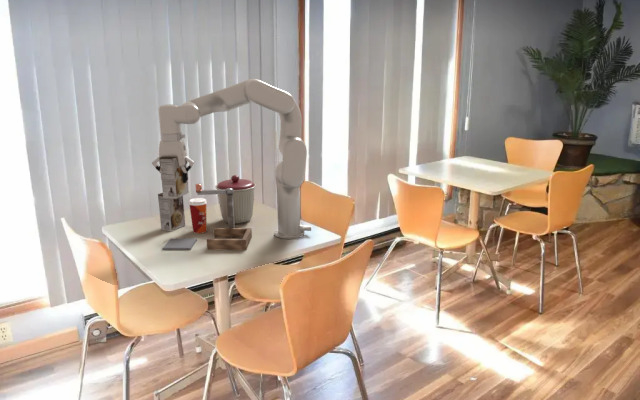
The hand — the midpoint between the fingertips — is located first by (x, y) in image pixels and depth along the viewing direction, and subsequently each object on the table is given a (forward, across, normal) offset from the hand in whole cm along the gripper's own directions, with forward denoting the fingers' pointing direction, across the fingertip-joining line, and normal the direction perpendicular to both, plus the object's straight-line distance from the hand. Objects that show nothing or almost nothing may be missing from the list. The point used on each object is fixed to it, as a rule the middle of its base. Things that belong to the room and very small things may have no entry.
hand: (174, 182), depth 222 cm
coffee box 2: (+26, +9, -22) cm, 35 cm away
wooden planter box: (+26, -20, -4) cm, 33 cm away
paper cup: (+26, -4, -17) cm, 32 cm away
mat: (+26, 0, 0) cm, 26 cm away
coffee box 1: (+6, 0, 0) cm, 6 cm away
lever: (+8, -13, -10) cm, 18 cm away
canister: (+26, -18, -32) cm, 45 cm away
